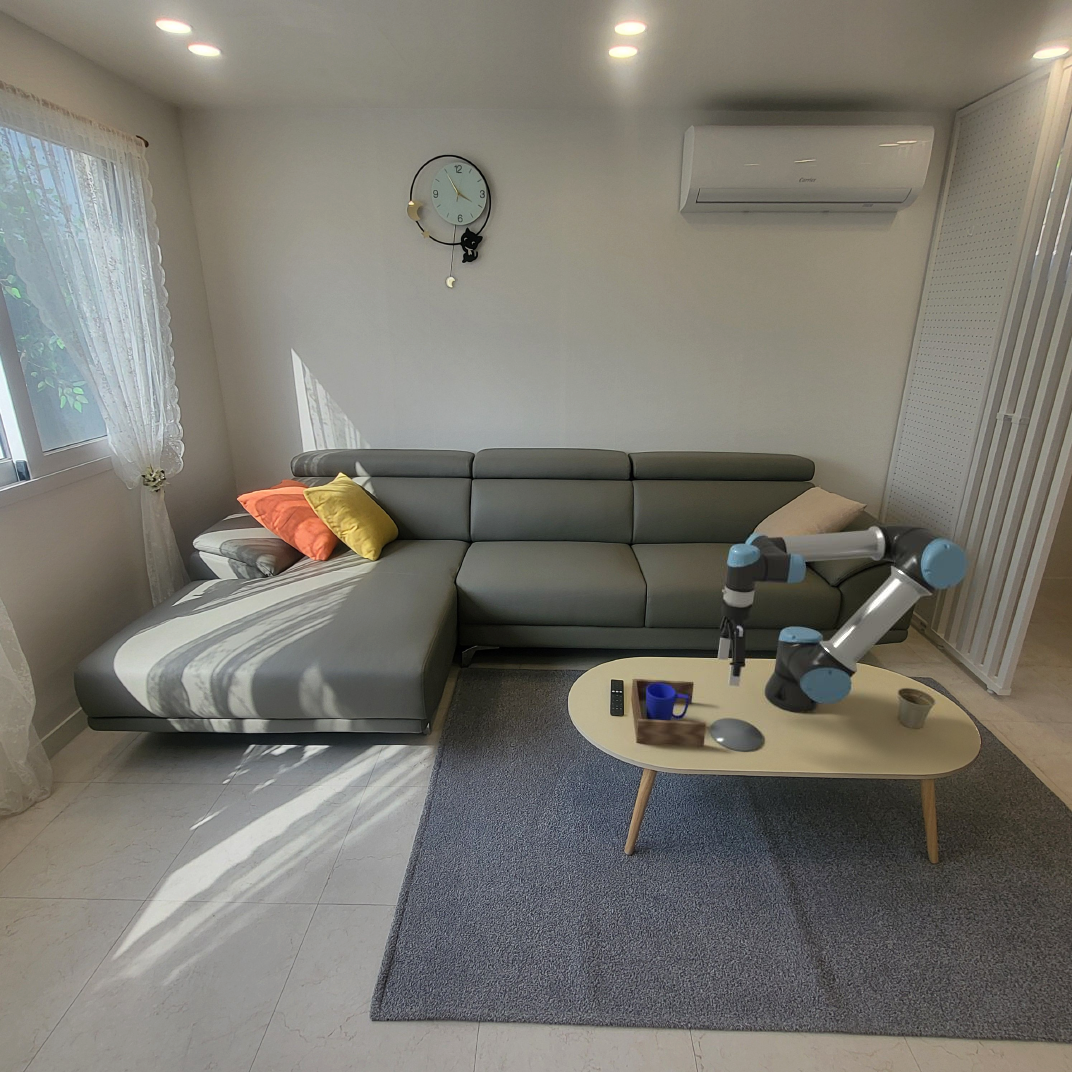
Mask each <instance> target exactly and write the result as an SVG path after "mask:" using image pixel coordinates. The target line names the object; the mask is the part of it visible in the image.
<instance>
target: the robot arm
mask: <svg viewBox="0 0 1072 1072" xmlns="http://www.w3.org/2000/svg"><path fill="white" fill-rule="evenodd" d="M865 558H871V559H872V560H874V561H889V562H893V564H891V566H890V568H891V569H890V572H891V574H890V575H889V576H888V578H887V579H886V580H885V581H884V583H882V585H881V586H879V588H878V589H877V590H876V591H875V592H874V593H873V594H872V595H871V596H869V598H868V599H867V600H866V602H864V603H863V605H861V607H860V608H859V609H858V610H856V612H854V614H853V615H852V616H851V617H850V618H849V619H848V620H847V621H846V622H845V623H844V624H843V626H841V627H840V629H839V630H838V631H837V632H836V633H835V634H834V635H833V636H832V637H831V638H830V639H829V640H824V635H823V634H822V633H820V632H819V631H817V630H815V629H812V628H809V627H805V626H804V627H803V626H789V627H785V628H783V629H782V630H781V631H780V634H779V637H778V639H777V640H778V641H777V642H778V643H777V649H776V657H775V664H774V669H773V673H772V674H771V676H770V678H769V679H768V681H767V683H766V684H765V687H764V696H765V698H766V699H767V701H769V703H771V704H772V705H774V706H775V707H777V708H779V709H782V710H784V711H788V712H794V713H808V712H812V711H814V710H815V709H816V708H817V707H818V703H819V704H825V705H826V704H835V703H838V702H841V700H844V699H845V698H846V697H847V696H848V695H849V694H850V692H851V690H852V684H853V683H852V679H851V678H852V677H853V676H854V675H855V674H856V673H857V671H858V668H857V663H858V662H859V661H860V660H861V659H862V657H864V655H865V654H866V653H868V651H870V649H872V647H874V645H875V644H876V643H877V642H878V641H879V640H880V639H881V638H882V637H883V636H885V634H886V633H887V632H888V631H890V629H891V628H892V627H893V626H894V625H895V624H896V623H897V621H899V619H901V617H903V616H904V615H905V614H906V613H907V611H908V610H909V609H911V608H912V606H914V604H916V602H918V600H919V599H920V598H921V597H924V596H925V597H926V596H932V595H934V593H935V592H936V591H938V590H943V589H948V588H952V587H954V586H956V585H957V584H959V583H960V582H961V581H962V580H963V579H964V576H965V575H966V572H967V570H968V557H967V555H966V553H965V551H964V549H963V548H962V547H960V546H959V545H957V544H956V543H955V542H954V541H952V540H950V539H948V538H946V537H943V536H942V535H939V534H937V533H935V532H933V531H931V530H929V529H928V528H926V527H924V526H919V525H914V524H888V525H885V524H884V525H873V526H870V527H869V528H868V529H867V530H856V531H844V532H843V531H842V532H841V531H840V532H830V533H829V532H828V533H817V534H814V533H813V534H803V535H790V536H776V537H775V536H773V537H768V536H767V535H765V534H763V533H754V534H752V535H750V536H749V537H748V538H747V539H746V541H745V543H737V544H734V545H732V546H731V547H730V549H729V552H728V556H727V559H726V560H727V561H726V573H725V580H724V581H725V582H724V589H722V591H721V593H722V594H723V598H722V602H721V603H722V604H721V615H723V617H722V619H721V623H720V625H719V629H718V631H719V633H720V634H719V636H720V637H719V638H720V639H719V647H718V654H717V659H718V660H722V661H723V660H727V661H728V660H729V653H730V647H731V661H732V662H729V665H730V667H729V674H728V681H727V683H728V684H727V685H728V686H732V687H735V686H736V687H739V686H740V683H741V676H742V668H745V667H746V636H747V635H746V633H747V629H746V628H745V625H744V623H743V622H745V621H746V620H749V619H750V617H751V615H752V609H753V602H754V596H755V591H756V590H755V588H756V583H780V584H781V583H782V584H792V583H801V582H802V581H803V580H804V578H805V575H806V572H807V571H806V570H807V567H806V565H807V564H806V562H821V561H833V560H849V559H865Z"/></svg>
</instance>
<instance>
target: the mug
mask: <svg viewBox="0 0 1072 1072" xmlns="http://www.w3.org/2000/svg"><path fill="white" fill-rule="evenodd" d="M677 698H684V699H687V701H686V704H685V706H684V709H683V711H682V713H681V714H680V715H677V714H674V708H675V704H676V703H675V701H676V699H677ZM645 702H646V708H645V709H646V713H645V714H646V719H651V720H668V721H672V720H671V719H672V718H673V719H676V720H681V719H683V718H684V717H685V716H686V714H687V712H688V707H689V705H690V704H689V696H687V695H682V694H676V692H675V690H674V688H673V687H671V686H669V685H667V684H664V683H653V684H650V685H649V686H648V687H647V689H646V701H645Z"/></svg>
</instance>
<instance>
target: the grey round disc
mask: <svg viewBox="0 0 1072 1072" xmlns="http://www.w3.org/2000/svg"><path fill="white" fill-rule="evenodd" d="M709 733H710V735H711V737H712V739H713V740H714V741H715V742H716V743H717V744H719V745H720V746H722V747H724V748H726V749H729V750H731V751H735V752H744V753H745V752H753V751H755V750H757V749H760V748H761V746H762V744H763V740H764V739H763V734H762V733H761V731H760V730H759V729H758V728H757V727H756V726H755V725H753V724H752V723H749V722H747V721H745V720H743V719H739V718H733V717H725V718H724V717H723V718H719V719H716V720H715V721H713V722H712V723H711V725H710V727H709Z"/></svg>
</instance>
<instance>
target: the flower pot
mask: <svg viewBox="0 0 1072 1072" xmlns="http://www.w3.org/2000/svg"><path fill="white" fill-rule="evenodd" d="M897 696H898V712H897V713H898V714H897V719H898V721H899V722H900V724H901V725H903V726H905V727H907V728H911V729H914V728H916V729H921V728H922V727H923V726H924V724H925V721H926V719H927V717H928V715H929V712H930V711H931V709H932V708H933V706H935V705H936V699H935V697H933V696H932V695H931V694H929V693H927V692H926V691H923V690H920V689H918V688H912V687H901V688H899V689H898V690H897Z"/></svg>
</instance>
